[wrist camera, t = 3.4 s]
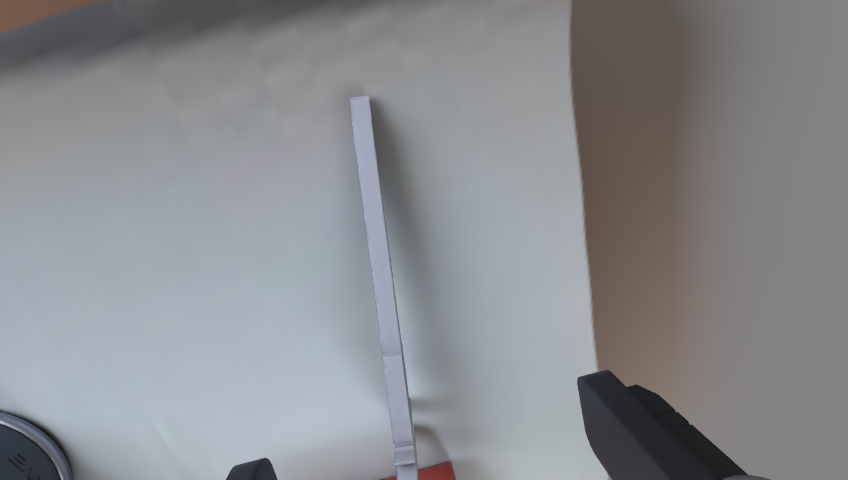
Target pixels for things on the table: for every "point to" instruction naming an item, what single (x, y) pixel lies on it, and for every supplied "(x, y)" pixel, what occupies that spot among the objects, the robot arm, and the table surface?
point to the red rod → (434, 472)
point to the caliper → (384, 291)
